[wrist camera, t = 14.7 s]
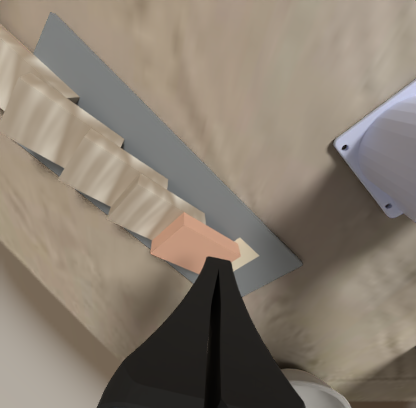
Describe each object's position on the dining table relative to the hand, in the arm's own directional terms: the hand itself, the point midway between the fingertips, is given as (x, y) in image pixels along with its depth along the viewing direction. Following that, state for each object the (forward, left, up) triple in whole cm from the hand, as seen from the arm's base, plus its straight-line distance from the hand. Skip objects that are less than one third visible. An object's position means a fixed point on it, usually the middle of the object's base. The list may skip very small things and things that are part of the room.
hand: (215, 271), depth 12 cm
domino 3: (+5, +6, -9) cm, 12 cm away
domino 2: (+10, +6, -9) cm, 15 cm away
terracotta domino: (-5, +6, -9) cm, 12 cm away
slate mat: (+4, +6, -10) cm, 12 cm away
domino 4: (0, +6, -9) cm, 11 cm away
